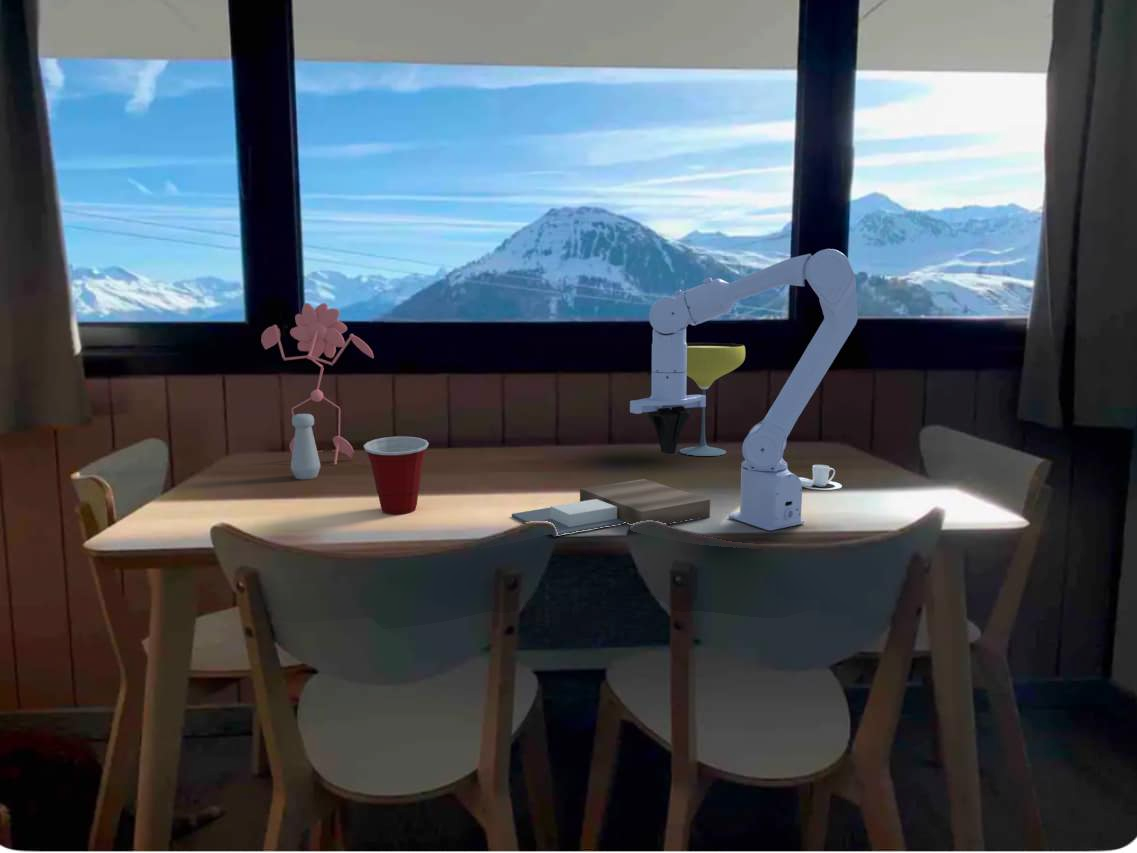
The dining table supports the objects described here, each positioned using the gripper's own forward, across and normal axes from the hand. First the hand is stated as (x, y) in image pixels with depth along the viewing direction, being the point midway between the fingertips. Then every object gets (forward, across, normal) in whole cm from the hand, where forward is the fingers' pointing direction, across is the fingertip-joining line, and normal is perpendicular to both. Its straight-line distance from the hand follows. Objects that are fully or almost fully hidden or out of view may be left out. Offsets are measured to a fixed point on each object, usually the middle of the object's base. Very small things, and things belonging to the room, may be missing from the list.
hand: (668, 452), depth 134 cm
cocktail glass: (+10, -40, -37) cm, 56 cm away
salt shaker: (+10, +45, -61) cm, 76 cm away
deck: (+10, +3, -3) cm, 11 cm away
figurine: (+10, +36, -78) cm, 86 cm away
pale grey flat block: (+10, +15, -3) cm, 18 cm away
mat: (+10, +17, -5) cm, 20 cm away
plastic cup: (+10, +38, -26) cm, 47 cm away
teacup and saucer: (+11, -37, -3) cm, 39 cm away
